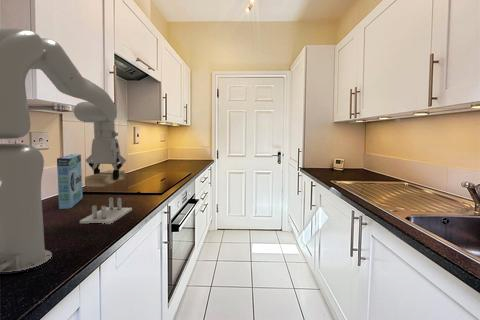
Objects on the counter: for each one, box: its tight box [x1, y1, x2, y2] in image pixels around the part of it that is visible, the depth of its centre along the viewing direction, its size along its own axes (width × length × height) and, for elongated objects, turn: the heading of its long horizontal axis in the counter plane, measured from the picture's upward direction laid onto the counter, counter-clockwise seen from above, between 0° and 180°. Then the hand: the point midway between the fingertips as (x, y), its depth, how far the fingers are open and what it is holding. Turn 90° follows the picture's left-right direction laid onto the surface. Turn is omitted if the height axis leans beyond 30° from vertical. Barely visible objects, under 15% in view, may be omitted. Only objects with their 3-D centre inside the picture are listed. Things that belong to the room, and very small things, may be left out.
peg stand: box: [79, 197, 133, 225], centre depth 116 cm, size 19×12×6 cm, turn 178°
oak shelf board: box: [84, 169, 126, 188], centre depth 115 cm, size 18×7×4 cm, turn 177°
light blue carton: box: [56, 153, 84, 210], centre depth 134 cm, size 20×5×23 cm, turn 14°
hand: (106, 178), depth 115 cm, fingers closed on oak shelf board, 7 cm apart
